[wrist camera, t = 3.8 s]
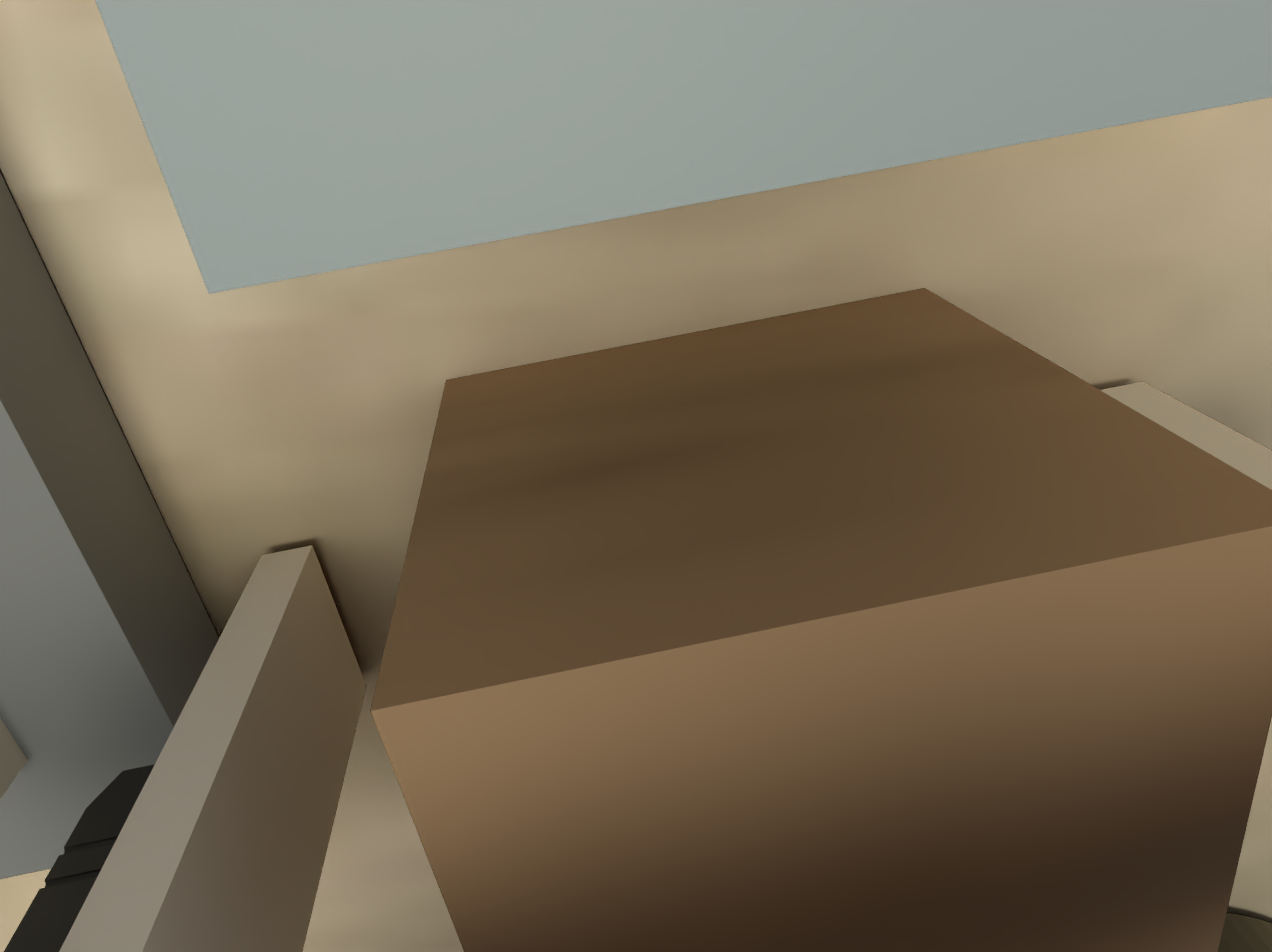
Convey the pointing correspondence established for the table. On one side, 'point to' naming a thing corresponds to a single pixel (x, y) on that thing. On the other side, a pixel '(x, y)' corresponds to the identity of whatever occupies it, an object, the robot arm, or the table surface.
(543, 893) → the walnut block
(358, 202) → the slate blue block
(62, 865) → the robot arm
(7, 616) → the grey square base plate
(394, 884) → the table surface
